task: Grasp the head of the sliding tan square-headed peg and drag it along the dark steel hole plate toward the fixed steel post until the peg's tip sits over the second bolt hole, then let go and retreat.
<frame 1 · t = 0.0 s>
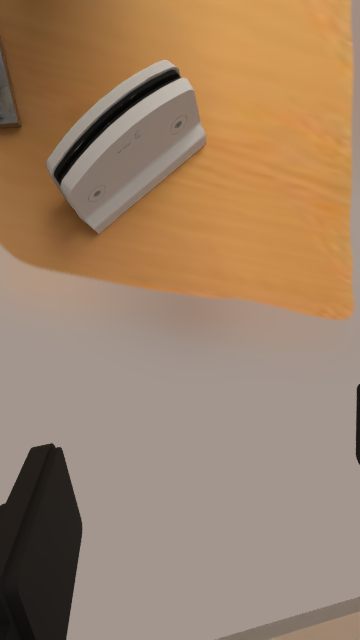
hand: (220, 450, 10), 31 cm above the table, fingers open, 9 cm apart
white black arched block: (129, 160, 36), on the table
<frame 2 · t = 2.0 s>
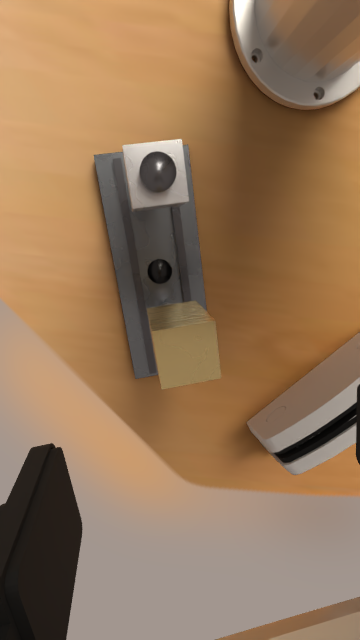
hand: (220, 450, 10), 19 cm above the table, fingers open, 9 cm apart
white black arched block: (313, 378, 33), on the table
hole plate: (158, 269, 27), on the table
tan square-headed peg: (174, 326, 22), point 7 cm above the table, slide at 3.0 cm
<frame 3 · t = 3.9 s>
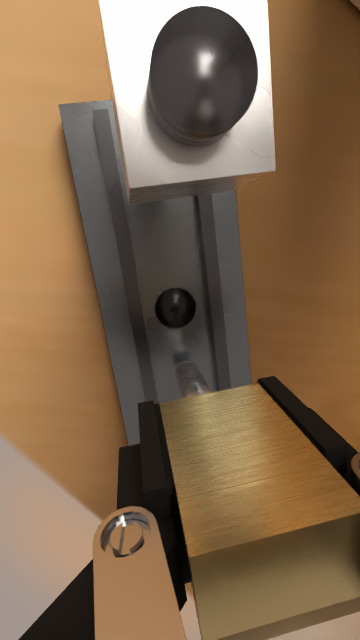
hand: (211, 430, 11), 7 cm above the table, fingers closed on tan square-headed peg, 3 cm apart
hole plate: (172, 303, 17), on the table
tan square-headed peg: (212, 430, 11), point 7 cm above the table, slide at 3.0 cm, touching gripper
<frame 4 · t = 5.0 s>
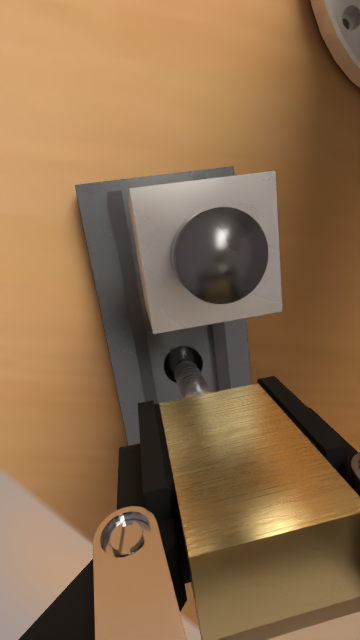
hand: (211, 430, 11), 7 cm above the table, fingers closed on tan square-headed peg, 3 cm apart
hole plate: (179, 356, 18), on the table
tan square-headed peg: (212, 430, 11), point 7 cm above the table, slide at 0.0 cm, touching gripper
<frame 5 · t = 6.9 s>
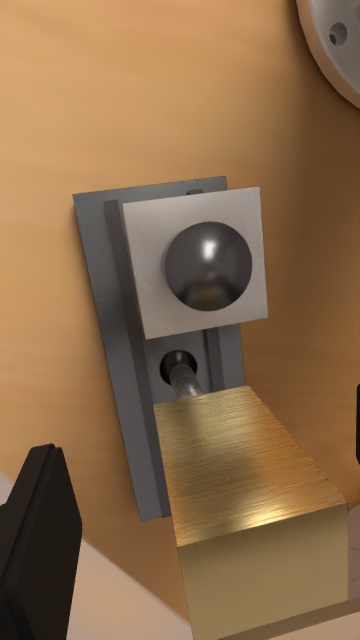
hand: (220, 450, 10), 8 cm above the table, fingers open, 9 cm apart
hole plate: (175, 360, 18), on the table
tan square-headed peg: (204, 431, 11), point 7 cm above the table, slide at 0.0 cm
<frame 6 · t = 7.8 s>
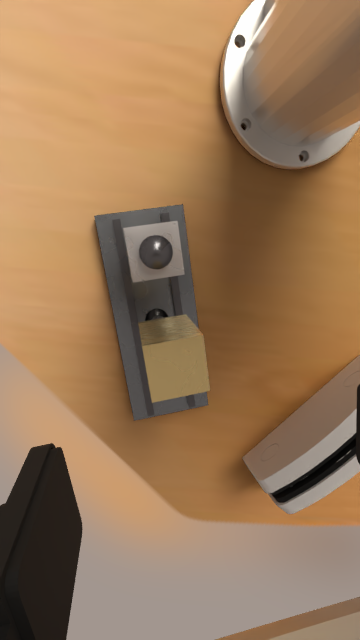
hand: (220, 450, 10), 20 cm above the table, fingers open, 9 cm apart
white black arched block: (304, 411, 34), on the table
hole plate: (155, 316, 29), on the table
tan square-headed peg: (165, 339, 22), point 7 cm above the table, slide at 0.0 cm
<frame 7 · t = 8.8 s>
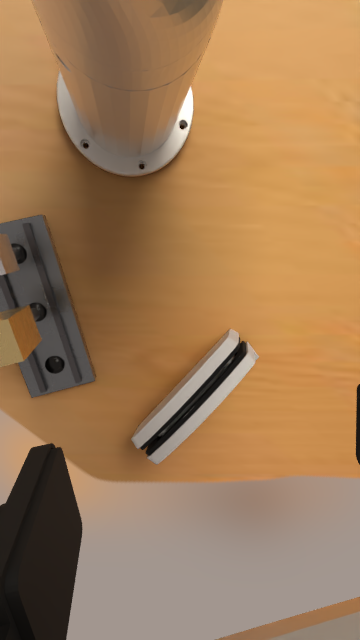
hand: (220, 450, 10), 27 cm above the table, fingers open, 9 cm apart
white black arched block: (190, 381, 40), on the table
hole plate: (39, 309, 34), on the table
tan square-headed peg: (17, 326, 28), point 7 cm above the table, slide at 0.0 cm
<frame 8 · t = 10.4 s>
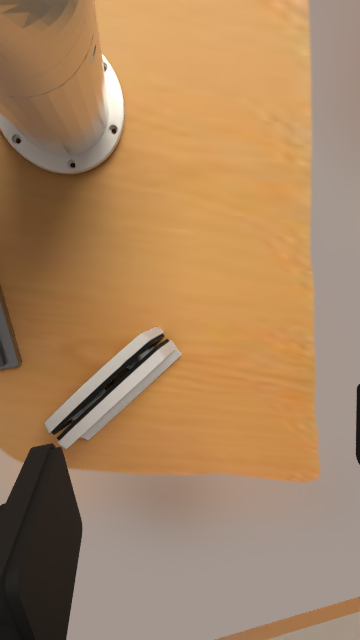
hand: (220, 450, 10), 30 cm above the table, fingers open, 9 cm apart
white black arched block: (116, 374, 41), on the table
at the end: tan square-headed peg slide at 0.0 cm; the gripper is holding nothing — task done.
